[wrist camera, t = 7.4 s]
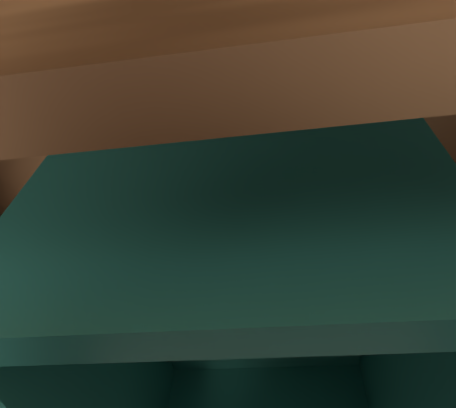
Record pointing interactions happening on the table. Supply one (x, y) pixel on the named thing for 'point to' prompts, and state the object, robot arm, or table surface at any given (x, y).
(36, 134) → the box
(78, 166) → the teal crate
